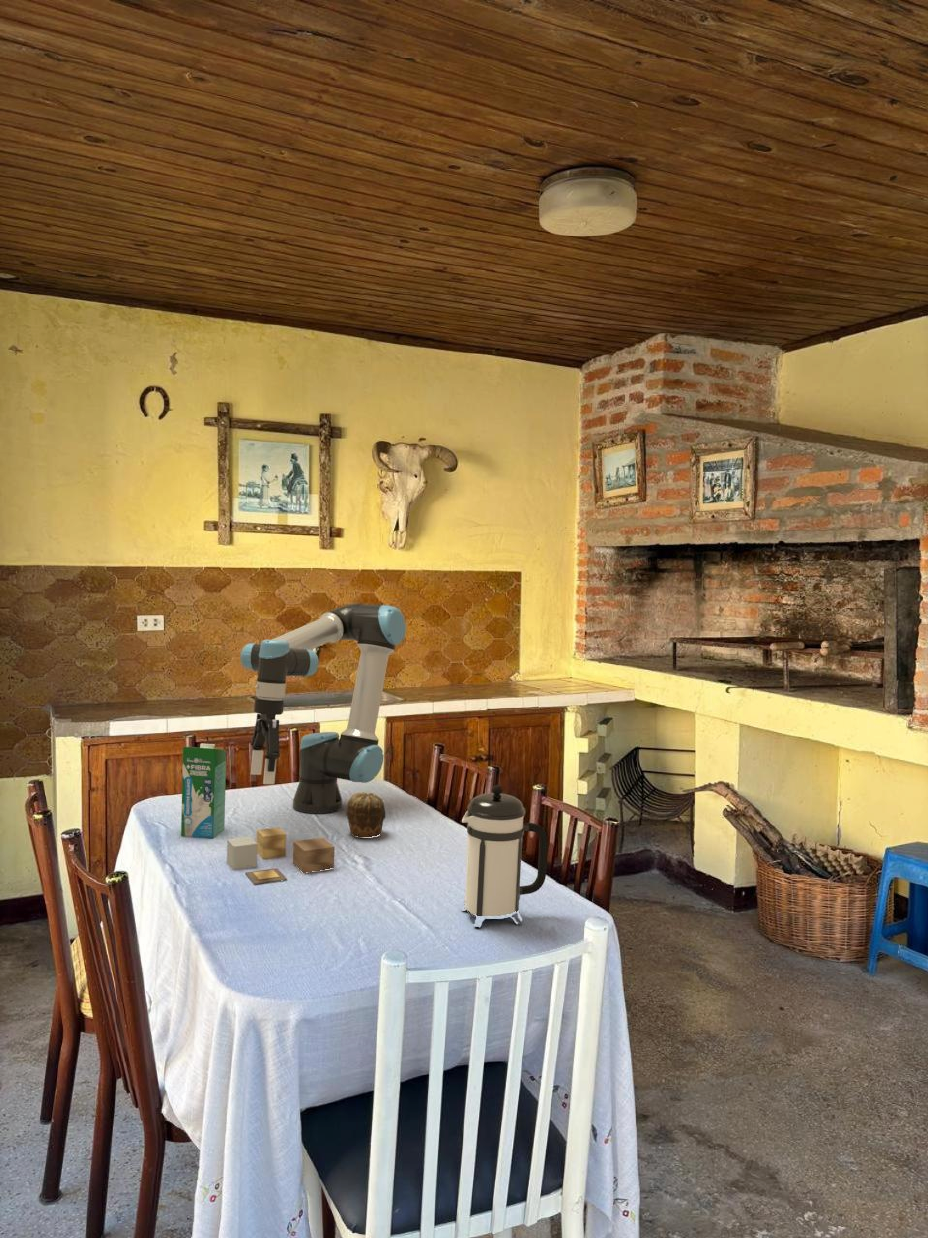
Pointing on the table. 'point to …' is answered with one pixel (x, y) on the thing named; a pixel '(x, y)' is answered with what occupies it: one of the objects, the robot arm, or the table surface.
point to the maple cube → (271, 843)
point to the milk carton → (203, 791)
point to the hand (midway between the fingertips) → (262, 779)
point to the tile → (265, 876)
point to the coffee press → (498, 854)
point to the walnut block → (313, 854)
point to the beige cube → (241, 853)
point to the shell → (365, 814)
